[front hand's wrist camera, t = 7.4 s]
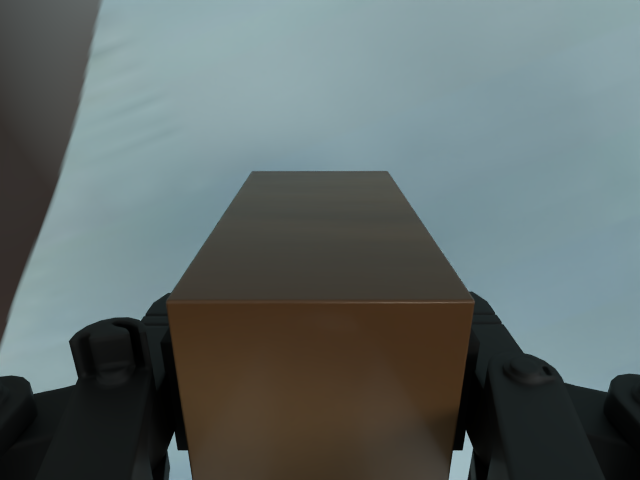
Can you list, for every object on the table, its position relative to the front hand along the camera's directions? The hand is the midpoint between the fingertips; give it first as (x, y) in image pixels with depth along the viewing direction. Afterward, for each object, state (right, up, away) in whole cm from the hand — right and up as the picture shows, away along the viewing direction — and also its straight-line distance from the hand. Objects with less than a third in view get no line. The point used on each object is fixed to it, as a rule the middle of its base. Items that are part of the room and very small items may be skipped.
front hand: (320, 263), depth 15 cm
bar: (0, -9, +4) cm, 10 cm away
